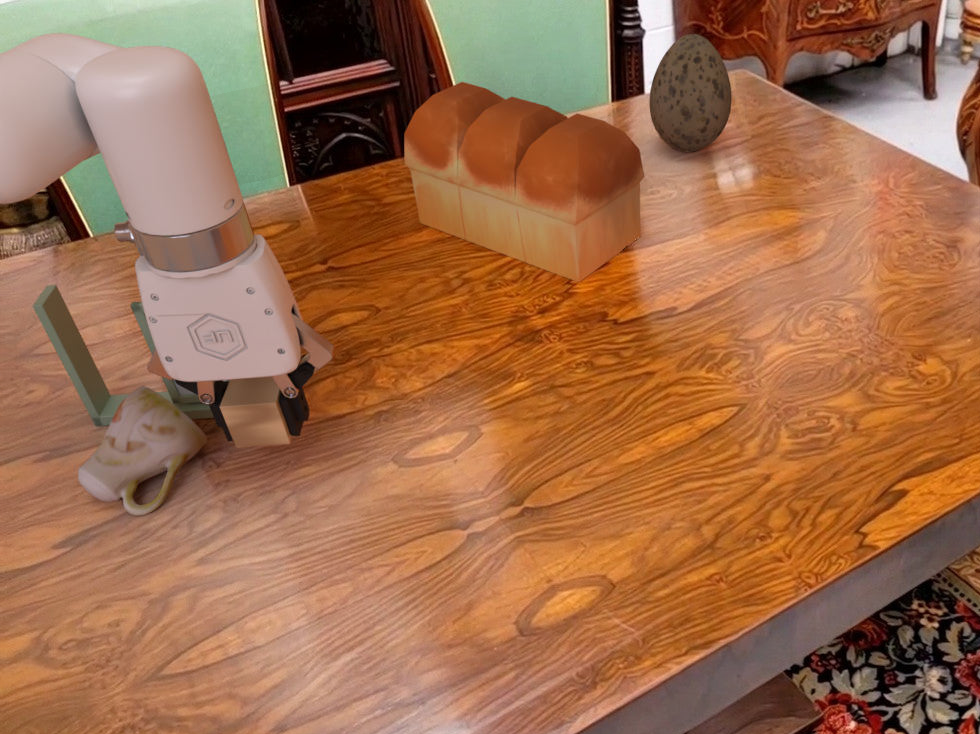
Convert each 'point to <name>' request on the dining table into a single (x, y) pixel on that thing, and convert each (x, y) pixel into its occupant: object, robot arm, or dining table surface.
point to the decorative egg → (690, 94)
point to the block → (254, 413)
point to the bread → (524, 179)
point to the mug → (141, 450)
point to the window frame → (89, 362)
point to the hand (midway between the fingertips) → (267, 426)
